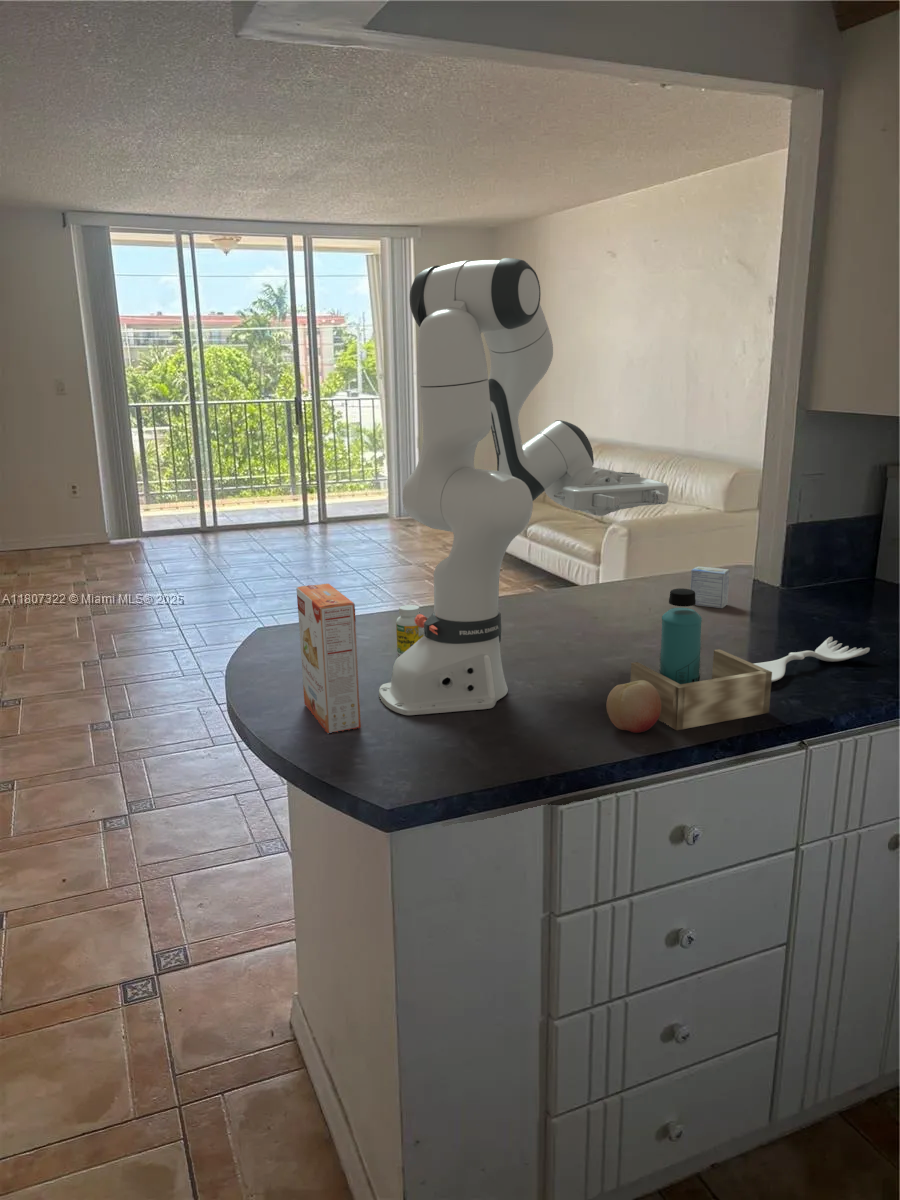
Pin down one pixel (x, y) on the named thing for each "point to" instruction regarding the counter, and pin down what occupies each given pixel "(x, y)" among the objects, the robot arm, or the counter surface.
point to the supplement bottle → (407, 628)
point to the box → (711, 693)
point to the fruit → (634, 706)
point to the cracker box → (329, 656)
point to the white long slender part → (822, 653)
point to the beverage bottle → (681, 639)
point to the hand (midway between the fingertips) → (639, 501)
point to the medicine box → (710, 586)
